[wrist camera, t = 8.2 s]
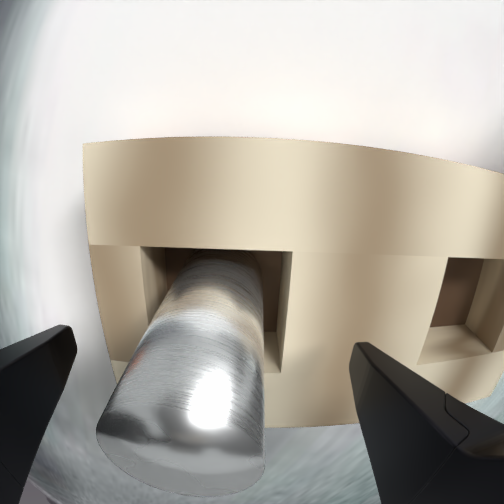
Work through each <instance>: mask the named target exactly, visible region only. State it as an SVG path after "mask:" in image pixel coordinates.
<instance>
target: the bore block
mask: <svg viewBox="0 0 504 504" xmlns="http://www.w3.org/2000/svg"><path fill="white" fill-rule="evenodd" d="M83 180H84V198H85V212H86V223H87V233H88V242H89V250H90V258H91V265H92V272H93V279H94V285H95V291H96V296H97V302H98V307H99V312H100V317H101V322H102V327H103V331H104V336H105V340H106V344H107V348H108V352H109V356H110V360H111V364H112V368H113V372H114V375H115V379H116V382H117V384H118V382H119V380H120V378H121V376H122V374H123V373H124V371H125V369H126V367H127V365H128V363H129V361H130V359H131V358H132V356H133V354H134V352H135V350H136V348H137V346H138V345H139V343H140V341H141V339H142V337H143V335H144V334H145V332H146V330H147V328H148V326H149V325H150V323H151V321H152V319H153V317H154V316H155V314H156V312H157V310H158V309H159V307H160V305H161V303H162V301H163V300H164V298H165V296H166V294H167V293H168V291H169V289H170V288H171V286H172V284H173V282H174V281H175V279H176V277H177V276H178V274H179V272H180V270H181V269H182V267H183V265H184V264H185V262H186V260H187V259H188V257H189V256H190V255H191V254H192V252H194V251H195V250H196V249H197V248H207V249H236V250H247V251H248V252H250V253H251V254H252V255H253V257H254V258H255V259H256V260H257V262H258V264H259V266H260V268H261V271H262V277H263V330H264V415H265V428H290V427H316V426H331V425H343V424H354V423H359V419H358V416H357V412H356V408H355V402H354V396H353V391H352V385H351V379H350V373H349V362H350V358H351V354H352V350H353V346H354V344H355V343H356V342H369V343H371V344H372V345H374V346H375V347H377V348H378V349H380V350H381V351H383V352H384V353H386V354H388V355H389V356H391V357H392V358H394V359H395V360H397V361H398V362H400V363H401V364H403V365H405V366H406V367H408V368H409V369H411V370H412V371H414V372H415V373H417V374H418V375H420V376H422V377H423V378H425V379H426V380H428V381H429V382H431V383H432V384H434V385H436V386H437V387H439V388H440V389H442V390H443V391H445V394H446V393H448V394H450V395H451V396H453V397H454V398H456V399H458V400H459V401H461V402H463V403H464V404H465V403H468V402H472V401H476V400H479V399H483V398H486V397H489V396H491V394H492V392H493V390H494V389H495V387H496V385H497V383H498V381H499V379H500V377H501V375H502V373H503V371H504V174H502V173H498V172H495V171H491V170H487V169H483V168H479V167H475V166H471V165H466V164H462V163H458V162H453V161H448V160H443V159H439V158H433V157H428V156H423V155H417V154H412V153H406V152H400V151H393V150H387V149H380V148H373V147H365V146H358V145H349V144H340V143H330V142H320V141H308V140H295V139H279V138H257V137H165V138H145V139H129V140H116V141H104V142H94V143H85V144H83Z"/></svg>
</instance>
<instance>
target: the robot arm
mask: <svg viewBox="0 0 504 504" xmlns="http://www.w3.org/2000/svg"><path fill="white" fill-rule="evenodd" d="M76 354H77V345H76V341H75V338H74V334H73V330H72V328H71V327H70V326H67V325H57V326H55V327H53V328H50V329H48V330H45V331H43V332H41V333H38V334H36V335H34V336H31V337H29V338H26V339H24V340H22V341H19V342H17V343H15V344H12V345H10V346H7V347H5V348H3V349H0V504H19V501H20V498H21V495H22V492H23V489H24V488H23V487H24V486H25V483H26V480H27V477H28V474H29V472H30V469H31V466H32V463H33V461H34V458H35V456H36V453H37V450H38V448H39V445H40V443H41V440H42V438H43V435H44V433H45V431H46V428H47V426H48V424H49V421H50V419H51V417H52V414H53V412H54V410H55V408H56V405H57V403H58V401H59V399H60V397H61V394H62V392H63V390H64V387H65V385H66V382H67V379H68V376H69V373H70V371H71V368H72V365H73V362H74V360H75V357H76ZM349 373H350V379H351V385H352V391H353V396H354V402H355V408H356V412H357V416H358V419H359V423H360V426H361V430H362V433H363V437H364V440H365V444H366V447H367V451H368V454H369V458H370V462H371V465H372V469H373V473H374V477H375V480H376V484H377V488H378V492H379V496H380V500H381V504H504V424H502V423H500V422H498V421H496V420H494V419H492V418H490V417H488V416H486V415H485V414H483V413H481V412H479V411H477V410H475V409H473V408H471V407H469V406H468V405H466V404H464V403H463V402H461V401H459V400H458V399H456V398H454V397H453V396H451V395H450V394H448V393H446V394H445V391H443V390H442V389H440V388H439V387H437V386H436V385H434V384H432V383H431V382H429V381H428V380H426V379H425V378H423V377H422V376H420V375H418V374H417V373H415V372H414V371H412V370H411V369H409V368H408V367H406V366H405V365H403V364H401V363H400V362H398V361H397V360H395V359H394V358H392V357H391V356H389V355H388V354H386V353H384V352H383V351H381V350H380V349H378V348H377V347H375V346H374V345H372V344H371V343H369V342H356V343H355V344H354V346H353V350H352V354H351V358H350V362H349Z"/></svg>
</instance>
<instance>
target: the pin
mask: <svg viewBox="0 0 504 504" xmlns="http://www.w3.org/2000/svg"><path fill="white" fill-rule="evenodd" d="M96 436H97V440H98V443H99V445H100V447H101V448H102V450H103V452H104V453H105V454H106V456H107V457H108V458H109V459H110V460H111V461H112V462H113V463H114V464H115V465H116V466H118V467H119V468H120V469H121V470H123V471H124V472H126V473H127V474H129V475H130V476H132V477H134V478H135V479H137V480H139V481H141V482H143V483H145V484H148V485H150V486H153V487H155V488H158V489H161V490H164V491H168V492H172V493H176V494H181V495H187V496H196V497H216V496H224V495H230V494H234V493H237V492H240V491H243V490H245V489H247V488H249V487H251V486H253V485H254V484H255V483H257V481H258V480H259V479H260V478H261V477H262V475H263V473H264V469H265V415H264V330H263V277H262V271H261V268H260V266H259V264H258V262H257V260H256V259H255V258H254V257H253V255H252V254H251V253H250V252H248V251H247V250H236V249H207V248H197V249H196V250H195V251H194V252H192V254H191V255H190V256H189V257H188V259H187V260H186V262H185V264H184V265H183V267H182V269H181V270H180V272H179V274H178V276H177V277H176V279H175V281H174V282H173V284H172V286H171V288H170V289H169V291H168V293H167V294H166V296H165V298H164V300H163V301H162V303H161V305H160V307H159V309H158V310H157V312H156V314H155V316H154V317H153V319H152V321H151V323H150V325H149V326H148V328H147V330H146V332H145V334H144V335H143V337H142V339H141V341H140V343H139V345H138V346H137V348H136V350H135V352H134V354H133V356H132V358H131V359H130V361H129V363H128V365H127V367H126V369H125V371H124V373H123V374H122V376H121V378H120V380H119V382H118V384H117V386H116V388H115V390H114V392H113V394H112V396H111V398H110V400H109V402H108V404H107V406H106V408H105V410H104V412H103V414H102V416H101V418H100V420H99V422H98V424H97V427H96Z"/></svg>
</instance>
